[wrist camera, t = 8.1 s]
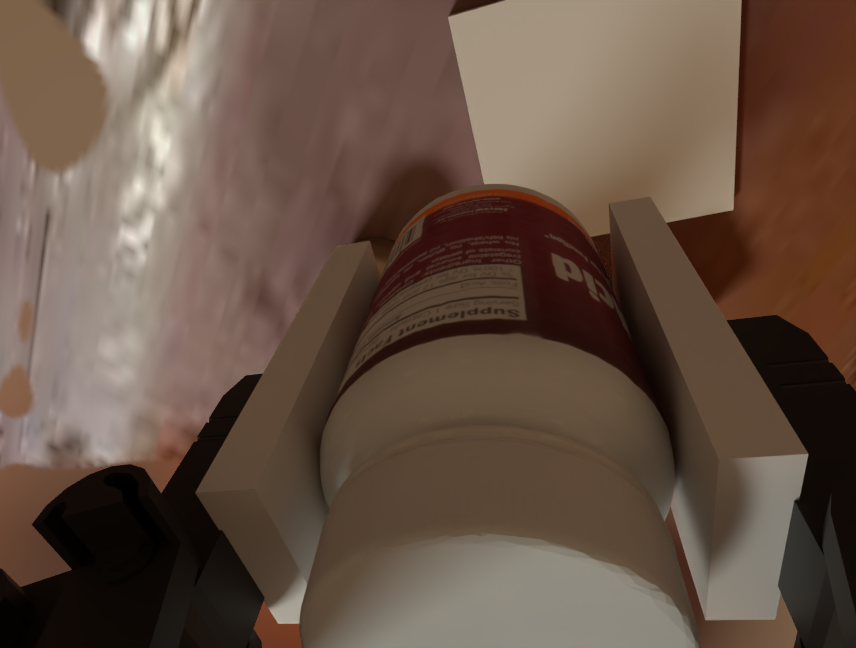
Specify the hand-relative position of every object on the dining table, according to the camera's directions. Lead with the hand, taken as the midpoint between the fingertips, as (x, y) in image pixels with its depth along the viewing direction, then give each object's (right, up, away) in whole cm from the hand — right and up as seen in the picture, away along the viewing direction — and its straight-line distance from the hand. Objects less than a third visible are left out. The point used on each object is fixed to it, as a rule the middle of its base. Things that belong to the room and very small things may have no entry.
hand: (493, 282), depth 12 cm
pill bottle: (0, 0, +1) cm, 1 cm away
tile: (+6, +8, +11) cm, 14 cm away
